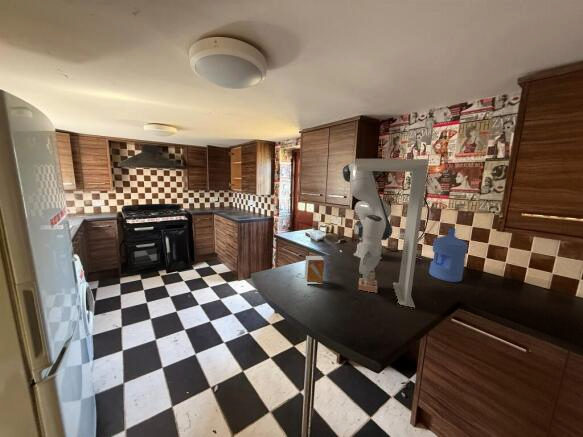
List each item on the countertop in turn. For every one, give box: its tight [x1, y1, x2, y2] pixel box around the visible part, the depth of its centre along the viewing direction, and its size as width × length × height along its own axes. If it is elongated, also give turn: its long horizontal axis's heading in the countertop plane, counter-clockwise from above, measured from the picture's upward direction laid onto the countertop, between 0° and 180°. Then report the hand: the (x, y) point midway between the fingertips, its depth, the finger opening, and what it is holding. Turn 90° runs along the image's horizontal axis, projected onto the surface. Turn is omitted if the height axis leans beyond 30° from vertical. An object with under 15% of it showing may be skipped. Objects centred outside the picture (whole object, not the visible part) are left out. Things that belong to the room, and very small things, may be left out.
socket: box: [357, 277, 378, 294], centre depth 110 cm, size 8×8×3 cm
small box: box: [304, 255, 325, 284], centre depth 114 cm, size 8×6×13 cm
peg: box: [362, 270, 376, 286], centre depth 110 cm, size 4×4×9 cm
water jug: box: [428, 227, 468, 283], centre depth 127 cm, size 16×16×28 cm
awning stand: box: [354, 158, 430, 309], centre depth 104 cm, size 22×28×60 cm
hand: (368, 277), depth 110 cm, fingers open, 7 cm apart
